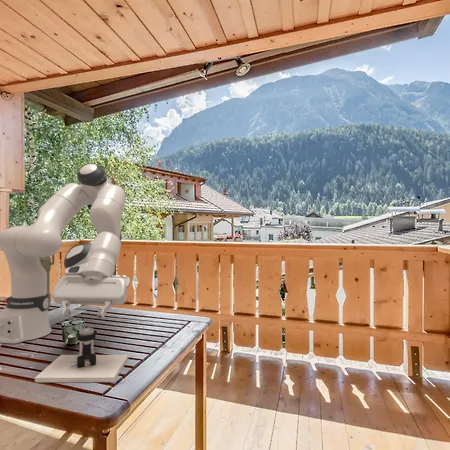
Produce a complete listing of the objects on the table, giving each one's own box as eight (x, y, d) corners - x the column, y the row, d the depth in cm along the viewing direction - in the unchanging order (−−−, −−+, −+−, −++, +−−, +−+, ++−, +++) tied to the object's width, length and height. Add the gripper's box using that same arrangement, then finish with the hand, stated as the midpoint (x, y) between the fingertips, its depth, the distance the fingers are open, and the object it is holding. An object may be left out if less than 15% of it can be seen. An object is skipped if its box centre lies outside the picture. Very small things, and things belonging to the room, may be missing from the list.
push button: (71, 372, 86) (71, 334, 86) (69, 364, 91) (69, 328, 91) (98, 366, 90) (98, 330, 89) (95, 359, 94) (95, 325, 94)
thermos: (24, 307, 152) (24, 232, 152) (52, 304, 159) (52, 232, 158) (25, 312, 145) (25, 233, 144) (55, 308, 152) (55, 233, 151)
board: (34, 382, 83) (34, 377, 83) (60, 358, 97) (60, 355, 97) (113, 382, 84) (113, 377, 84) (128, 358, 98) (128, 354, 98)
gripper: (133, 282, 101) (123, 322, 91) (67, 280, 101) (49, 321, 91) (129, 269, 97) (119, 310, 87) (60, 268, 96) (41, 309, 86)
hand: (82, 316), depth 89 cm, fingers open, 8 cm apart
